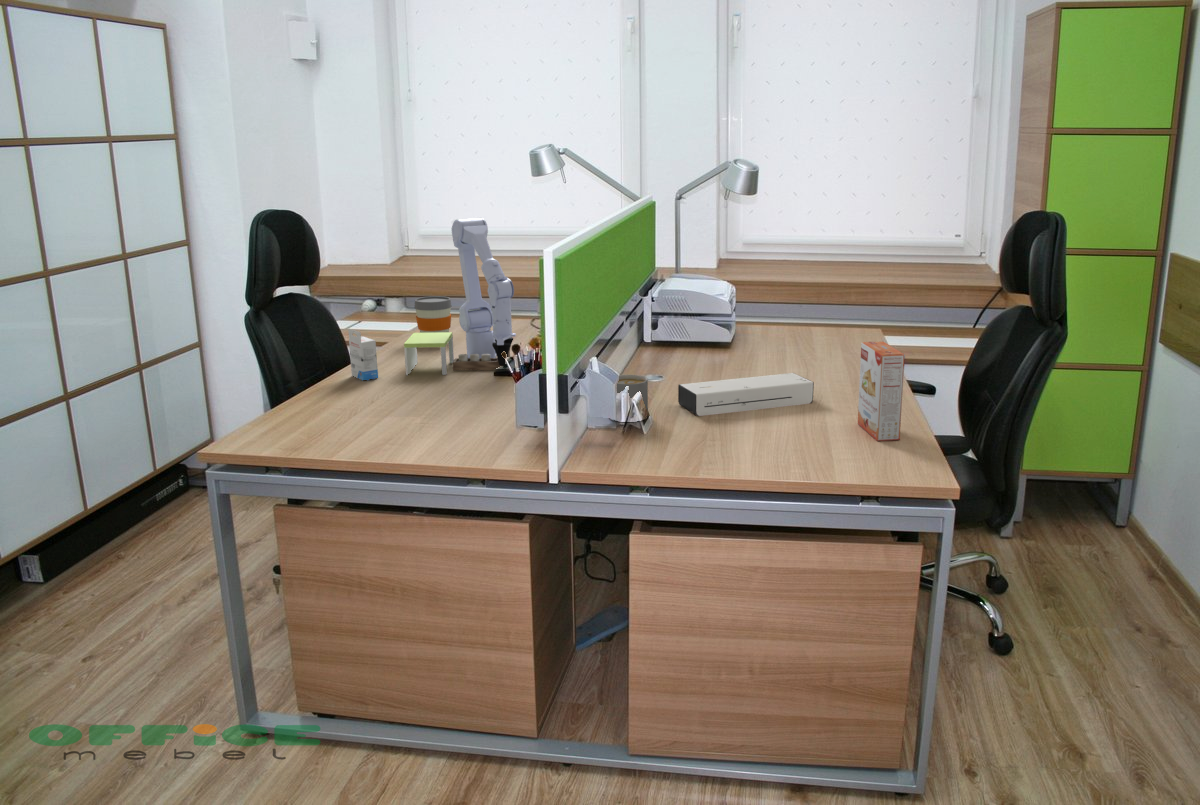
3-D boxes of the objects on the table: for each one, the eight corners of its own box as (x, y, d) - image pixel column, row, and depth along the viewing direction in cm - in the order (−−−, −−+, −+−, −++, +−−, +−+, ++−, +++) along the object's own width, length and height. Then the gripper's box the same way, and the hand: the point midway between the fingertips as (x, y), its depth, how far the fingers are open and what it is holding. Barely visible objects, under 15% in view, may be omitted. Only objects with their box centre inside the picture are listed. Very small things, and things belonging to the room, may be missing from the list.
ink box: (379, 378, 301) (375, 330, 297) (364, 381, 298) (360, 332, 294) (366, 373, 308) (362, 325, 304) (350, 376, 304) (346, 328, 301)
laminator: (695, 417, 258) (695, 394, 257) (676, 405, 270) (676, 383, 268) (813, 404, 269) (814, 381, 267) (790, 393, 280) (790, 371, 278)
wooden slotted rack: (510, 365, 314) (509, 350, 313) (508, 369, 310) (508, 353, 308) (455, 366, 315) (454, 350, 313) (453, 370, 310) (452, 354, 308)
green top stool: (453, 362, 320) (452, 332, 317) (446, 374, 304) (444, 343, 302) (415, 362, 320) (413, 332, 317) (406, 375, 305) (403, 343, 302)
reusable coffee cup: (450, 346, 344) (448, 302, 340) (413, 346, 344) (410, 302, 340) (456, 338, 356) (453, 295, 352) (420, 338, 356) (417, 296, 352)
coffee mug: (640, 410, 264) (640, 373, 261) (653, 420, 255) (653, 382, 252) (591, 415, 261) (590, 377, 258) (601, 425, 251) (601, 386, 249)
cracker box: (855, 424, 249) (860, 341, 244) (879, 423, 250) (884, 340, 244) (875, 441, 236) (880, 354, 230) (900, 441, 236) (906, 353, 231)
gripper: (512, 324, 301) (514, 368, 304) (517, 315, 315) (519, 357, 318) (489, 324, 301) (491, 369, 305) (494, 315, 315) (496, 358, 319)
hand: (503, 363), depth 312 cm, fingers closed on wooden slotted rack, 5 cm apart
